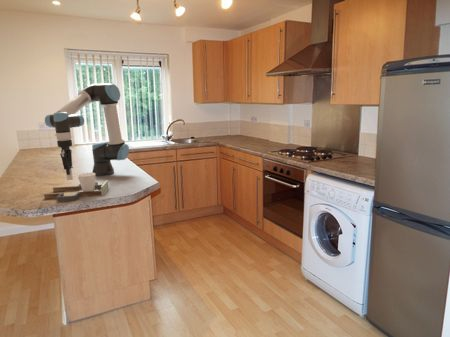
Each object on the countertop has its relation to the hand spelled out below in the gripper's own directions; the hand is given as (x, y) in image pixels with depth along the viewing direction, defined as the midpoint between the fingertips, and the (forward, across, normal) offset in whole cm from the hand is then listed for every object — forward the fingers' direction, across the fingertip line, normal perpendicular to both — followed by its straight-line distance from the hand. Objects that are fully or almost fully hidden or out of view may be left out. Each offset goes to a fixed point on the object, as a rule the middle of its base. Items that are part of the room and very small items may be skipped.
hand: (69, 179), depth 193 cm
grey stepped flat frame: (+9, +1, +4) cm, 9 cm away
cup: (+9, 0, +10) cm, 13 cm away
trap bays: (+9, +1, +4) cm, 9 cm away
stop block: (+9, +1, +19) cm, 21 cm away
